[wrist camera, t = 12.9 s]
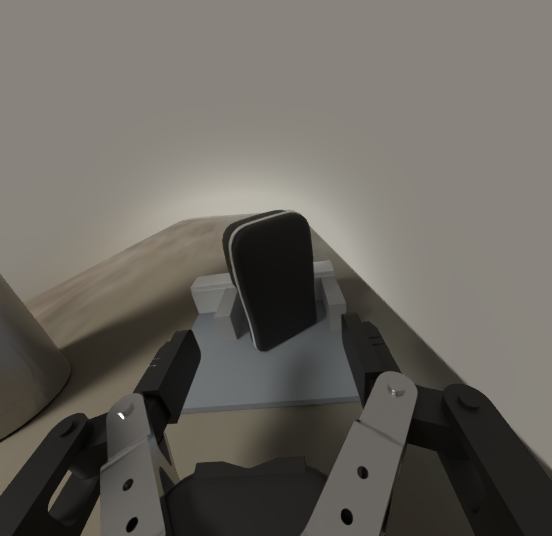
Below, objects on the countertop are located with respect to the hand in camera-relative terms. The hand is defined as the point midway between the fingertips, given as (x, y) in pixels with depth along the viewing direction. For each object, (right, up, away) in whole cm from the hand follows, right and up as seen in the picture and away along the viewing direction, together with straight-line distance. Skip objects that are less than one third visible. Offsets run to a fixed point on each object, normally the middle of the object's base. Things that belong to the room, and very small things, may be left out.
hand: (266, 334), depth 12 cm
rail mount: (-1, -3, +11) cm, 11 cm away
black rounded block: (+1, -3, +11) cm, 11 cm away
